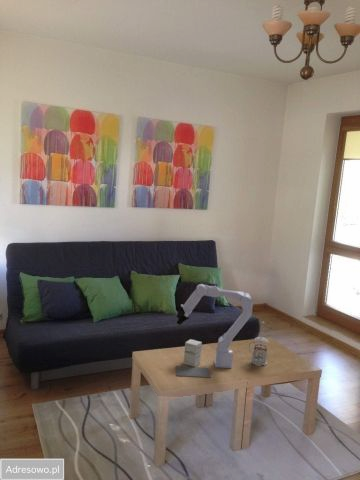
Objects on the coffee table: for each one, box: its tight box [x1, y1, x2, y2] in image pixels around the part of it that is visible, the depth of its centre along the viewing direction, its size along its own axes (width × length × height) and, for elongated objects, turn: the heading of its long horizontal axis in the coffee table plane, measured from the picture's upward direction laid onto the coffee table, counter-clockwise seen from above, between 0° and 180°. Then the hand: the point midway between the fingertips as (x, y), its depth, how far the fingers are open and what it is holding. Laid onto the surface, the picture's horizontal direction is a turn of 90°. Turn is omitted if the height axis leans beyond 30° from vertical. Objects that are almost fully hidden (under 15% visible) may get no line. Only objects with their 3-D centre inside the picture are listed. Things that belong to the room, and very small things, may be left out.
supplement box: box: [183, 338, 203, 367], centre depth 237 cm, size 7×7×13 cm
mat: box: [175, 365, 211, 379], centre depth 227 cm, size 18×11×1 cm, turn 92°
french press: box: [248, 321, 269, 367], centre depth 244 cm, size 10×12×25 cm
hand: (178, 320), depth 239 cm, fingers open, 7 cm apart
